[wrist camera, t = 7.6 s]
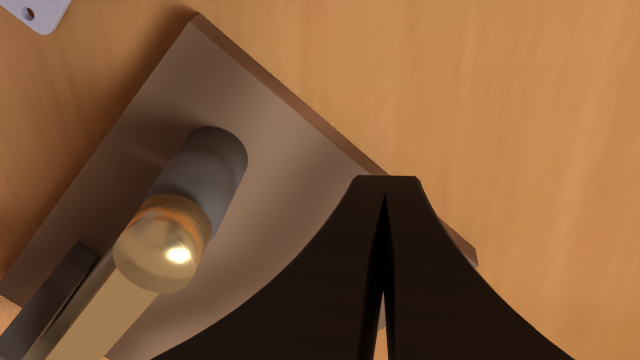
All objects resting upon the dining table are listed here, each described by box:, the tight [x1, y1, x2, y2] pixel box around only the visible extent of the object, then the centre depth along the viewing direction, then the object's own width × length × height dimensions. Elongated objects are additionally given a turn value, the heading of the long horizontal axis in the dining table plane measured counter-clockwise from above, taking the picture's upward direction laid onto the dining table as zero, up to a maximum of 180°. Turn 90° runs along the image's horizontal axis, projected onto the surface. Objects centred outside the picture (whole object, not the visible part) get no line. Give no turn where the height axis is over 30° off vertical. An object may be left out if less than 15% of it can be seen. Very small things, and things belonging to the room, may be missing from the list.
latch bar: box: [42, 193, 212, 360], centre depth 20 cm, size 14×3×2 cm, turn 142°
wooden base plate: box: [0, 13, 479, 360], centre depth 24 cm, size 16×20×8 cm
